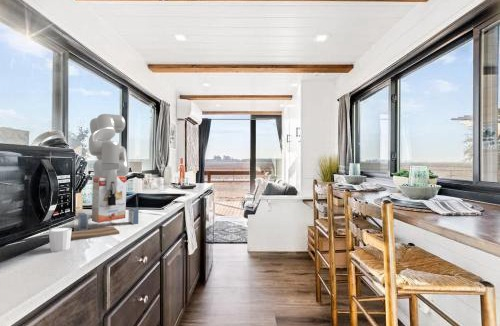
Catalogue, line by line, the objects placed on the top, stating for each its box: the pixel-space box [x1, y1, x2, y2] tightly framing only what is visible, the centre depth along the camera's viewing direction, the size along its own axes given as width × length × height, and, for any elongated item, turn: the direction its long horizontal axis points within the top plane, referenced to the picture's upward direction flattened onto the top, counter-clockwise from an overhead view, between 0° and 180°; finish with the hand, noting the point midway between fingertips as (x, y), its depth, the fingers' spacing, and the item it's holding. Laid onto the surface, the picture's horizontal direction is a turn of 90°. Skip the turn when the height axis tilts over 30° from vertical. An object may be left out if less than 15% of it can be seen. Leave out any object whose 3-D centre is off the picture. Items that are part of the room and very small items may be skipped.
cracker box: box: [91, 176, 128, 224], centre depth 134 cm, size 14×6×21 cm, turn 148°
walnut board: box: [70, 226, 120, 242], centre depth 119 cm, size 11×18×1 cm, turn 129°
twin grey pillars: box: [77, 207, 139, 231], centre depth 134 cm, size 6×25×7 cm, turn 129°
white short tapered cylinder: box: [48, 227, 73, 253], centre depth 99 cm, size 7×7×7 cm
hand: (109, 203), depth 134 cm, fingers closed on cracker box, 7 cm apart
